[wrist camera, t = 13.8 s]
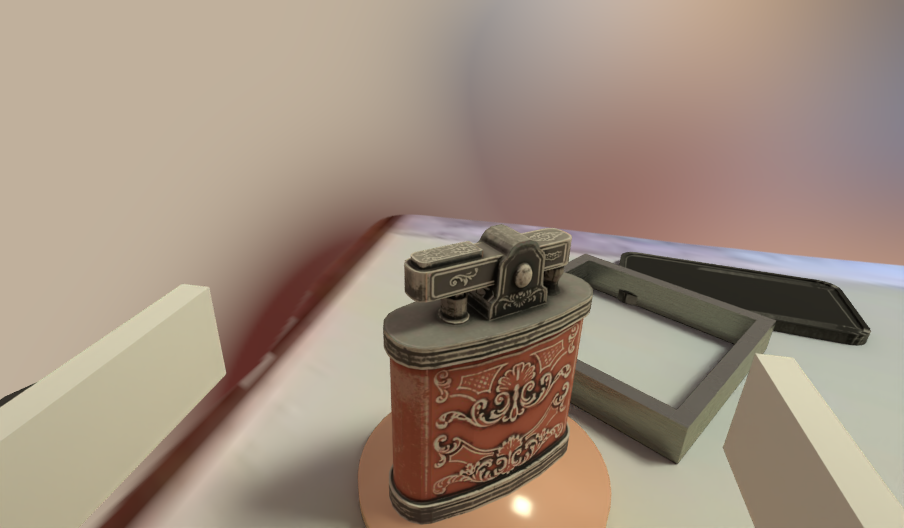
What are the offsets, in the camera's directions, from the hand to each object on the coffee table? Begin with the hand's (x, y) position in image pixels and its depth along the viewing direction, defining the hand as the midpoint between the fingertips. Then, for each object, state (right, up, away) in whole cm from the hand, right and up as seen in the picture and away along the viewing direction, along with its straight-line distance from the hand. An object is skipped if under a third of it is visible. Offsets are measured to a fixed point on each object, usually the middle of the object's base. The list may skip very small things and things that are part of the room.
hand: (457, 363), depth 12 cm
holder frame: (+10, -2, +17) cm, 20 cm away
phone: (+19, 0, +24) cm, 31 cm away
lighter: (+1, -6, +8) cm, 10 cm away
